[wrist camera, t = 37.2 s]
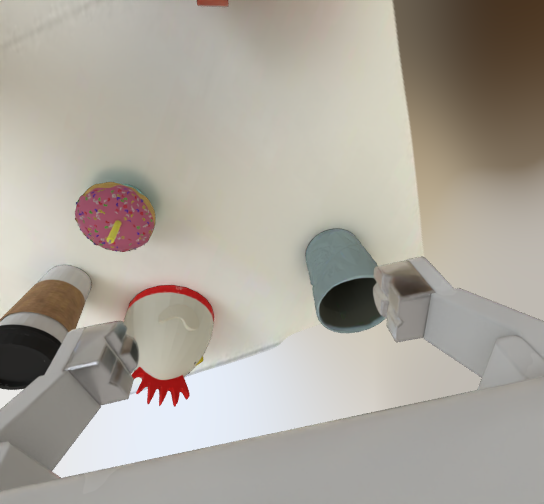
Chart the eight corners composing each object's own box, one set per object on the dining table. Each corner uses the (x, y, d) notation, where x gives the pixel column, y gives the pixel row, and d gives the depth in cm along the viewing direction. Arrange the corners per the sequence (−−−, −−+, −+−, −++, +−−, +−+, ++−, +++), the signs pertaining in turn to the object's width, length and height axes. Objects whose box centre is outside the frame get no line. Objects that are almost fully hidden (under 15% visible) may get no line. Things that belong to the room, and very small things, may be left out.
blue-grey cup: (374, 248, 49) (412, 300, 39) (327, 287, 53) (351, 344, 43) (334, 211, 44) (364, 260, 35) (285, 257, 48) (300, 313, 38)
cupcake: (121, 155, 37) (82, 197, 27) (176, 205, 41) (160, 257, 31) (75, 199, 39) (24, 253, 29) (132, 242, 43) (104, 301, 33)
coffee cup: (22, 268, 43) (-59, 358, 31) (77, 249, 43) (17, 334, 30) (62, 308, 48) (6, 401, 36) (112, 292, 48) (73, 380, 35)
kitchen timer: (196, 351, 57) (188, 436, 45) (118, 334, 53) (85, 424, 40) (226, 299, 51) (227, 381, 39) (140, 274, 46) (110, 359, 34)
